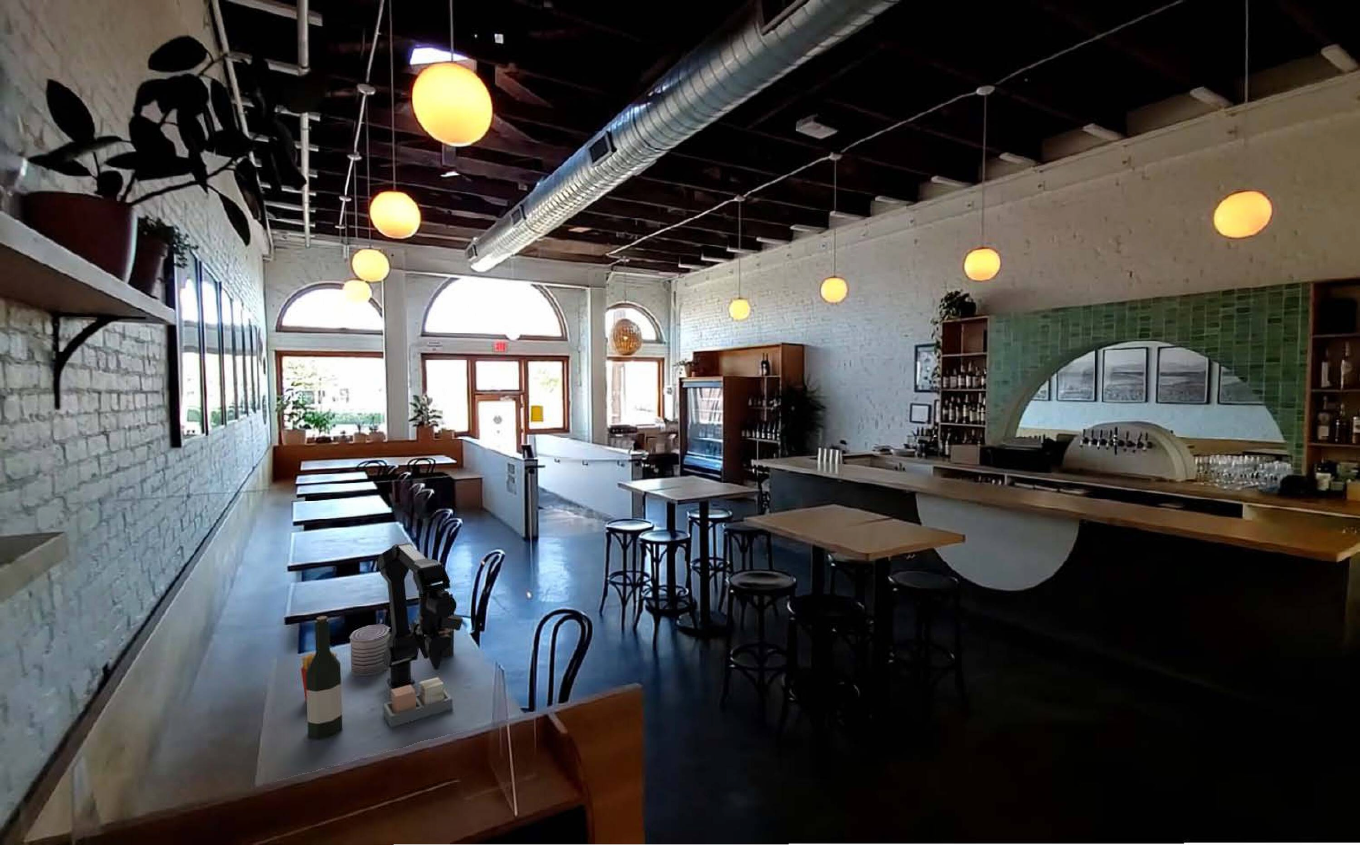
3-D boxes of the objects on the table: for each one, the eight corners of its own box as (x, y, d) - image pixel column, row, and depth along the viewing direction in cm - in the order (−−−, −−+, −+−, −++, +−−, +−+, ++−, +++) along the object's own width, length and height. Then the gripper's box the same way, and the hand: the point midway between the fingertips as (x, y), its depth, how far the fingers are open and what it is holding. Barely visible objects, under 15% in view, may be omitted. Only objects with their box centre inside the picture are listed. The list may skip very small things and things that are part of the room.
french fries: (300, 703, 183) (298, 658, 182) (306, 696, 187) (305, 652, 186) (335, 700, 184) (333, 656, 183) (340, 693, 188) (339, 650, 188)
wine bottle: (316, 723, 172) (312, 612, 170) (349, 722, 173) (345, 611, 171) (300, 740, 164) (296, 624, 162) (335, 739, 164) (331, 623, 163)
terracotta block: (391, 711, 176) (391, 689, 176) (410, 705, 179) (410, 684, 179) (396, 718, 172) (396, 696, 172) (416, 713, 175) (415, 691, 175)
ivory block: (420, 703, 180) (419, 682, 180) (438, 697, 184) (437, 677, 183) (425, 710, 177) (425, 688, 176) (444, 704, 180) (443, 683, 179)
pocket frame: (383, 714, 176) (383, 704, 176) (443, 697, 186) (442, 687, 186) (391, 727, 170) (390, 716, 170) (452, 709, 179) (452, 698, 179)
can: (398, 665, 207) (397, 628, 207) (364, 679, 198) (363, 640, 197) (377, 657, 213) (376, 622, 213) (343, 670, 204) (342, 633, 203)
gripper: (470, 611, 176) (472, 667, 177) (448, 594, 191) (449, 646, 192) (428, 620, 169) (430, 679, 170) (409, 601, 184) (410, 655, 185)
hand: (431, 663), depth 179 cm, fingers open, 9 cm apart
